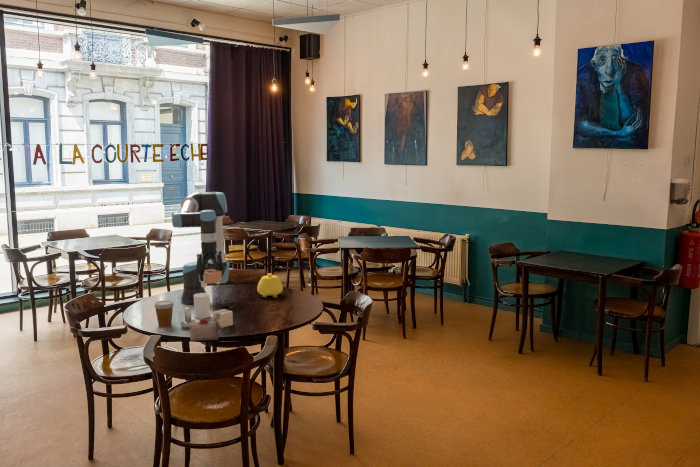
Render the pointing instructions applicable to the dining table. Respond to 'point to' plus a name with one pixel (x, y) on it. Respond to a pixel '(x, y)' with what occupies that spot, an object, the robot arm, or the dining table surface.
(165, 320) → the disposable coffee cup
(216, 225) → the robot arm
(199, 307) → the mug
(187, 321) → the hub
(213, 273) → the collar
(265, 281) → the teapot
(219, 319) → the pedestal
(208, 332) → the food item
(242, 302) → the dining table surface
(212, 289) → the dining table surface
